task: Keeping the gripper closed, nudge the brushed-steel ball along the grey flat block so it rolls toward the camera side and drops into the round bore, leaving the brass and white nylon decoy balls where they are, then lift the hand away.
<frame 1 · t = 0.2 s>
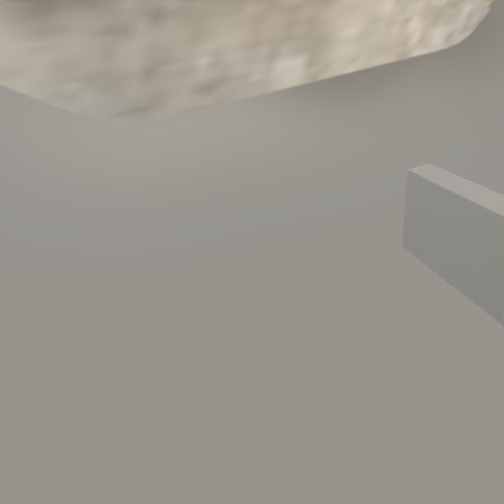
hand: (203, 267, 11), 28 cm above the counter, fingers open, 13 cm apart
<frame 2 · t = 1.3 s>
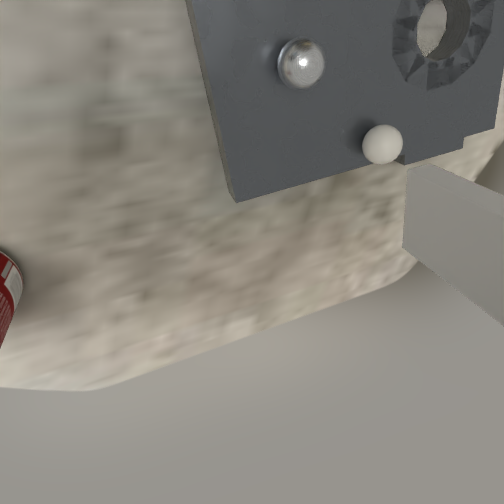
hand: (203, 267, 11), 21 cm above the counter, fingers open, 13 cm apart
steel ball: (301, 64, 25), point 4 cm above the counter, touching grey flat block
nylon decoy: (382, 144, 30), point 4 cm above the counter, touching grey flat block
grey flat block: (353, 43, 30), on the counter
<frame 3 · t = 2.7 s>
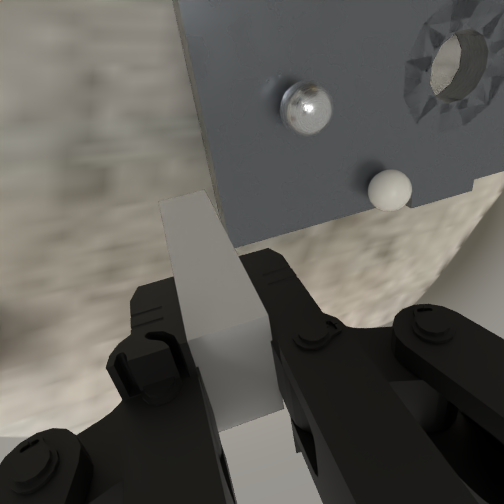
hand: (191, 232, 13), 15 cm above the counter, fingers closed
steel ball: (306, 109, 23), point 4 cm above the counter, touching grey flat block
nylon decoy: (389, 190, 28), point 4 cm above the counter, touching grey flat block
grey flat block: (361, 80, 27), on the counter
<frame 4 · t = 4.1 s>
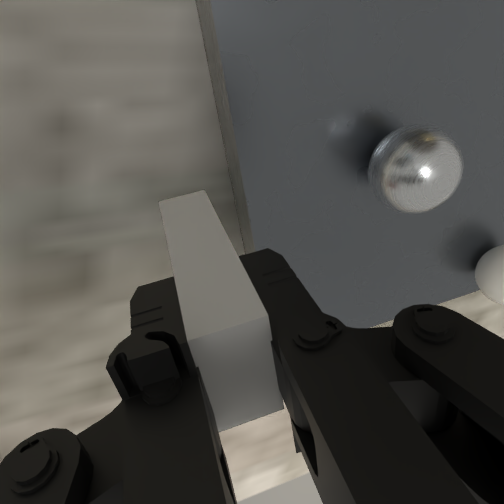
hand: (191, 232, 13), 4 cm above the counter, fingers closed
steel ball: (413, 169, 14), point 4 cm above the counter, touching grey flat block
grey flat block: (470, 113, 18), on the counter
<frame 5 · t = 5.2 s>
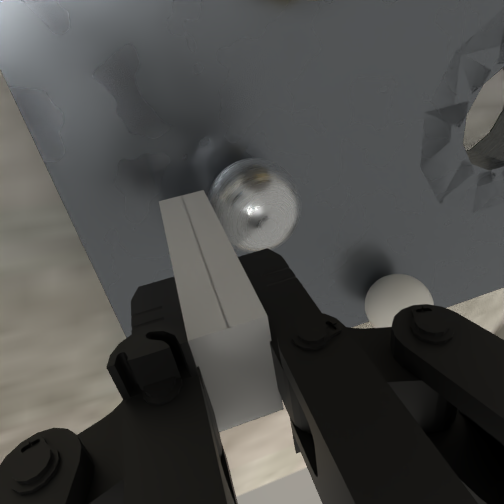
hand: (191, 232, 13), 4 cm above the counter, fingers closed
steel ball: (254, 206, 13), point 4 cm above the counter, touching gripper, grey flat block
nylon decoy: (398, 306, 18), point 4 cm above the counter, touching grey flat block
grey flat block: (352, 136, 17), on the counter
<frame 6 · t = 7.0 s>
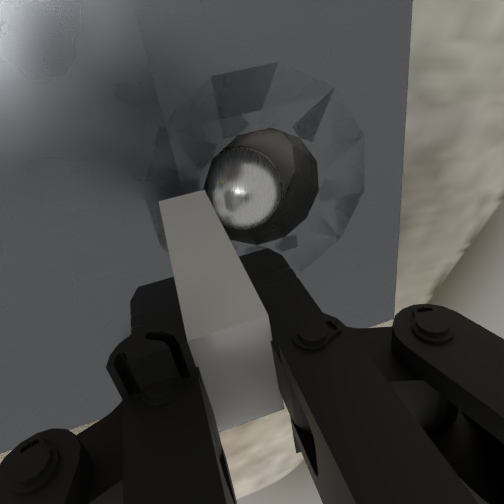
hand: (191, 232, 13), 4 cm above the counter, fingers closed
steel ball: (241, 189, 15), point 2 cm above the counter, tilted 70°
grey flat block: (105, 206, 16), on the counter
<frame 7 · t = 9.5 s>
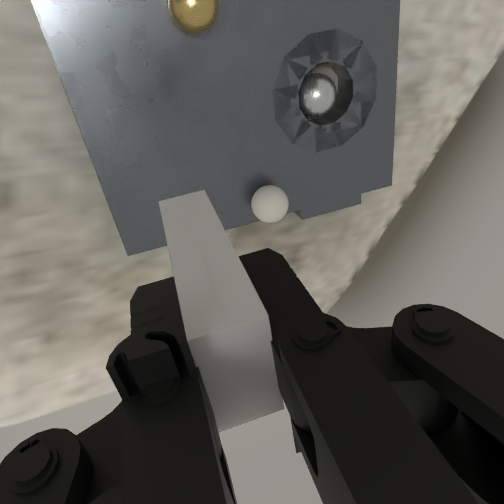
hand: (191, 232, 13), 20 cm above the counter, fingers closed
steel ball: (315, 95, 30), point 2 cm above the counter, tilted 76°
nylon decoy: (269, 204, 31), point 4 cm above the counter, touching grey flat block
grey flat block: (243, 105, 31), on the counter
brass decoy: (193, 5, 23), point 4 cm above the counter, touching grey flat block
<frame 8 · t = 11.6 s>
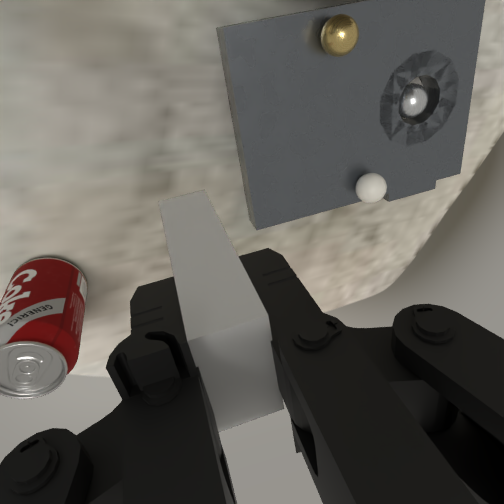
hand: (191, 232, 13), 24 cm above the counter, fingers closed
steel ball: (410, 101, 38), point 2 cm above the counter, tilted 81°
nylon decoy: (370, 188, 39), point 4 cm above the counter, touching grey flat block
grey flat block: (350, 109, 38), on the counter
soda can: (51, 282, 39), on the counter
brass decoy: (339, 35, 31), point 4 cm above the counter, touching grey flat block
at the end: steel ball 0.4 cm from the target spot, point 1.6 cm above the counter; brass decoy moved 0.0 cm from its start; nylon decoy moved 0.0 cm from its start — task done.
